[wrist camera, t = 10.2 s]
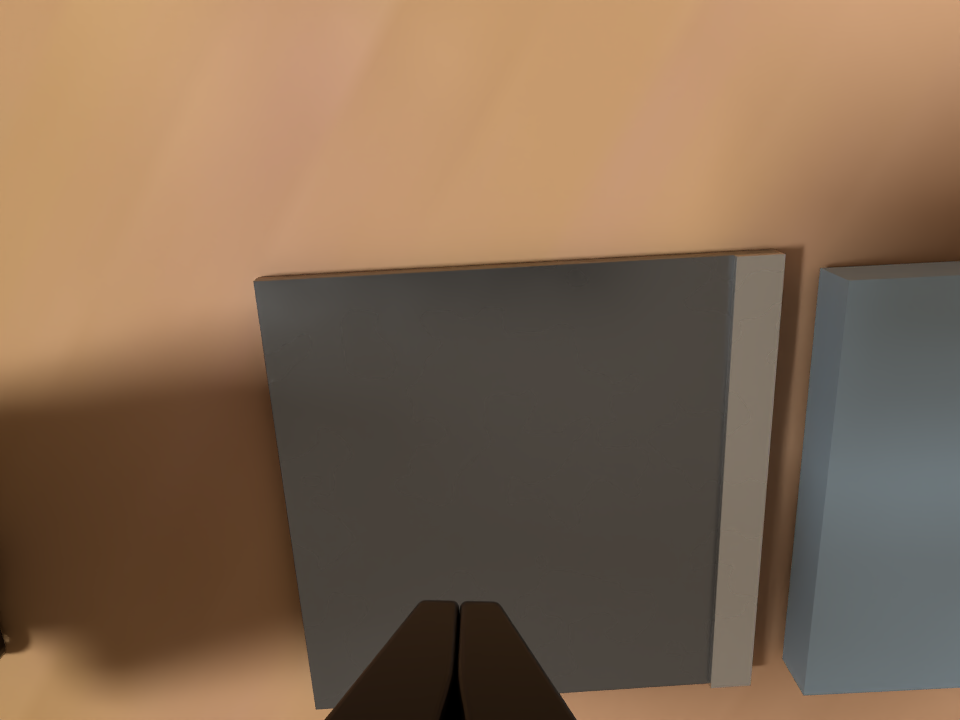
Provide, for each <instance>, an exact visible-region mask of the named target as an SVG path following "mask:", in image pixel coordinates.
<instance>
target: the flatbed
mask: <svg viewBox="0 0 960 720" xmlns="http://www.w3.org/2000/svg"><path fill="white" fill-rule="evenodd" d="M785 257H786V254H785V253H782V252H780V251H777V250H775V249H766V250H748V251H730V252H711V253H693V254H675V255H656V256H638V257H620V258H602V259H583V260H565V261H547V262H528V263H510V264H492V265H474V266H455V267H437V268H419V269H400V270H382V271H364V272H345V273H327V274H309V275H291V276H272V277H258V278H257V279H256V280H255V281H253V282H254V289H255V296H256V303H257V309H258V316H259V323H260V330H261V337H262V344H263V351H264V357H265V364H266V371H267V378H268V385H269V392H270V398H271V405H272V412H273V419H274V426H275V433H276V440H277V446H278V453H279V460H280V467H281V474H282V481H283V488H284V494H285V501H286V508H287V515H288V522H289V529H290V535H291V542H292V549H293V556H294V563H295V570H296V577H297V583H298V590H299V597H300V604H301V611H302V618H303V624H304V631H305V638H306V645H307V652H308V659H309V666H310V672H311V679H312V686H313V693H314V700H315V707H316V709H331V708H334V707H335V706H336V705H337V704H338V702H339V701H340V700H341V699H342V697H343V696H344V695H345V694H346V693H347V691H348V690H349V689H350V688H351V686H352V685H353V684H354V683H355V681H356V680H357V679H358V678H359V676H360V675H361V674H362V673H363V671H364V670H365V669H366V668H367V666H368V665H369V664H370V663H371V661H372V660H373V659H374V658H375V657H376V655H377V654H378V653H379V652H380V650H381V649H382V648H383V647H384V645H385V644H386V643H387V642H388V640H389V639H390V638H391V637H392V635H393V634H394V633H395V632H396V630H397V629H398V628H399V627H400V625H401V624H402V623H403V622H404V620H405V619H406V618H407V617H408V615H409V614H410V613H411V612H412V611H413V609H414V608H415V607H416V606H417V604H418V603H419V602H421V601H423V600H451V601H455V602H457V603H458V605H459V612H460V605H461V604H462V603H463V602H464V601H494V602H497V603H499V604H500V605H501V606H502V608H503V609H504V611H505V612H506V614H507V615H508V617H509V618H510V620H511V621H512V623H513V624H514V626H515V627H516V629H517V630H518V632H519V633H520V635H521V636H522V638H523V639H524V641H525V642H526V644H527V645H528V647H529V649H530V650H531V652H532V653H533V655H534V656H535V658H536V659H537V661H538V662H539V664H540V665H541V667H542V668H543V670H544V671H545V673H546V674H547V676H548V677H549V679H550V680H551V682H552V683H553V685H554V686H555V688H556V689H557V691H558V692H559V693H570V692H585V691H600V690H615V689H630V688H645V687H660V686H675V685H690V684H704V683H709V685H710V688H719V687H734V686H749V685H751V673H752V661H753V649H754V636H755V624H756V612H757V600H758V587H759V575H760V563H761V551H762V539H763V526H764V514H765V502H766V490H767V477H768V465H769V453H770V441H771V428H772V416H773V404H774V392H775V379H776V367H777V355H778V343H779V330H780V318H781V306H782V294H783V281H784V269H785Z"/></svg>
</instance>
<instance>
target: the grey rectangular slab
mask: <svg viewBox="0 0 960 720" xmlns="http://www.w3.org/2000/svg"><path fill="white" fill-rule="evenodd" d="M782 659H783V661H784V662H785V664H786V666H787V668H788V669H789V671H790V673H791V675H792V676H793V678H794V680H795V681H796V683H797V685H798V687H799V688H800V690H801V692H802V694H803V695H823V694H842V693H862V692H882V691H902V690H921V689H941V688H960V261H951V262H931V263H911V264H891V265H871V266H852V267H832V268H820V276H819V286H818V297H817V307H816V317H815V328H814V338H813V348H812V359H811V369H810V379H809V390H808V400H807V410H806V420H805V431H804V441H803V451H802V462H801V472H800V482H799V493H798V503H797V513H796V524H795V534H794V544H793V555H792V565H791V575H790V586H789V596H788V606H787V616H786V627H785V637H784V647H783V658H782Z"/></svg>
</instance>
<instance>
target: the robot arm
mask: <svg viewBox="0 0 960 720" xmlns="http://www.w3.org/2000/svg"><path fill="white" fill-rule="evenodd" d="M4 653H5V643H4V640H3V636H2V633H1V630H0V659H1V658H2V656H3V655H4ZM325 720H576V718H575V717H574V715H573V714H572V712H571V711H570V709H569V708H568V706H567V704H566V703H565V701H564V700H563V698H562V697H561V695H560V694H559V692H558V691H557V689H556V688H555V686H554V685H553V683H552V682H551V680H550V679H549V677H548V676H547V674H546V673H545V671H544V670H543V668H542V667H541V665H540V664H539V662H538V661H537V659H536V658H535V656H534V655H533V653H532V652H531V650H530V649H529V647H528V645H527V644H526V642H525V641H524V639H523V638H522V636H521V635H520V633H519V632H518V630H517V629H516V627H515V626H514V624H513V623H512V621H511V620H510V618H509V617H508V615H507V614H506V612H505V611H504V609H503V608H502V606H501V605H500V604H499V603H497V602H494V601H464V602H463V603H462V604H461V605H460V612H459V605H458V603H457V602H455V601H451V600H423V601H421V602H419V603H418V604H417V606H416V607H415V608H414V609H413V611H412V612H411V613H410V614H409V615H408V617H407V618H406V619H405V620H404V622H403V623H402V624H401V625H400V627H399V628H398V629H397V630H396V632H395V633H394V634H393V635H392V637H391V638H390V639H389V640H388V642H387V643H386V644H385V645H384V647H383V648H382V649H381V650H380V652H379V653H378V654H377V655H376V657H375V658H374V659H373V660H372V661H371V663H370V664H369V665H368V666H367V668H366V669H365V670H364V671H363V673H362V674H361V675H360V676H359V678H358V679H357V680H356V681H355V683H354V684H353V685H352V686H351V688H350V689H349V690H348V691H347V693H346V694H345V695H344V696H343V697H342V699H341V700H340V701H339V702H338V704H337V705H336V706H335V707H334V709H333V710H332V711H331V712H330V714H329V715H328V716H327V717H326V719H325Z"/></svg>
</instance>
